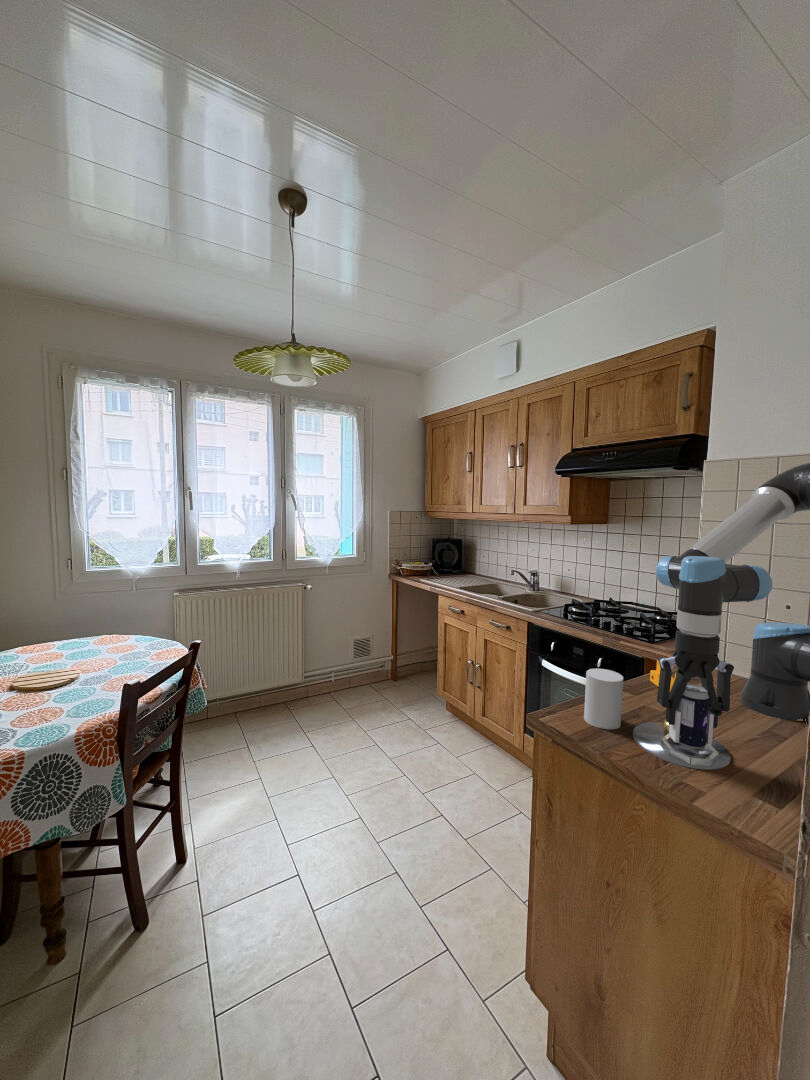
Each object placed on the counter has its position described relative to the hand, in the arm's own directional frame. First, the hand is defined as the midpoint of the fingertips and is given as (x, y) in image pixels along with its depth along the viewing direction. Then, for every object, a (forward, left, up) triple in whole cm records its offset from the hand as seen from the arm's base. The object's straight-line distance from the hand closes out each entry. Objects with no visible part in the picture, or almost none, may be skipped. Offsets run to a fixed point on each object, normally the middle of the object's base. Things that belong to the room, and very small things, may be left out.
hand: (689, 740), depth 92 cm
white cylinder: (+14, -13, -4) cm, 19 cm away
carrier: (0, -4, -4) cm, 6 cm away
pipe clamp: (-12, -38, -4) cm, 40 cm away
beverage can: (0, 0, -1) cm, 1 cm away
